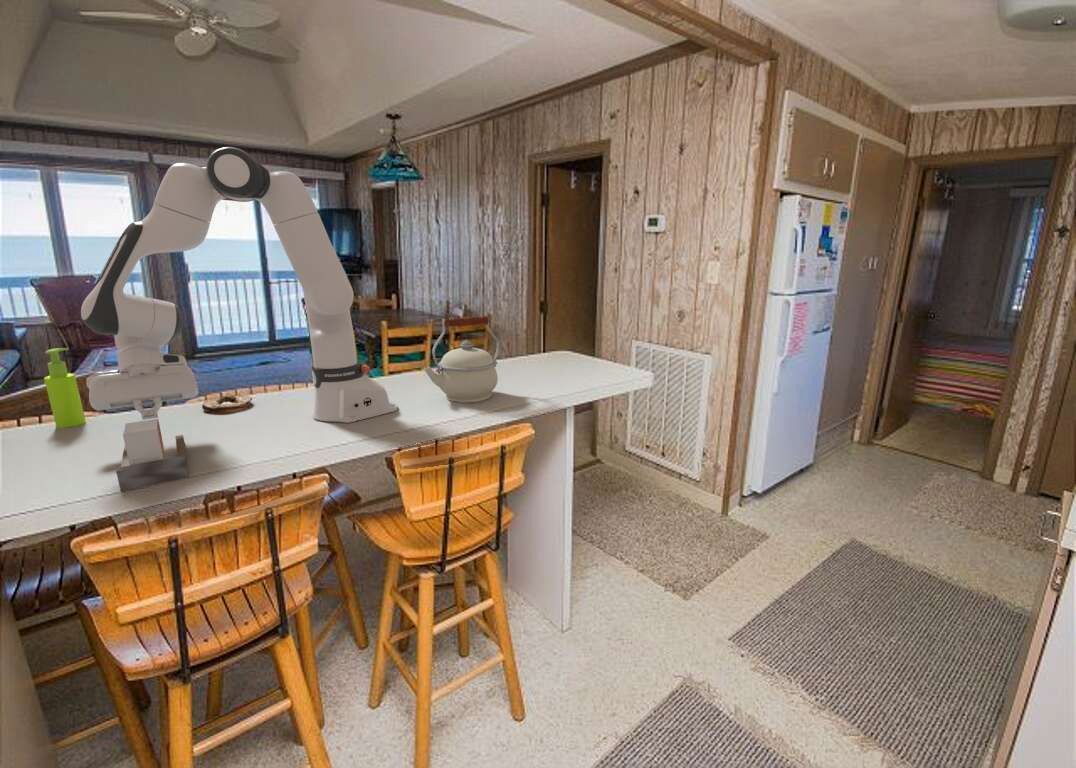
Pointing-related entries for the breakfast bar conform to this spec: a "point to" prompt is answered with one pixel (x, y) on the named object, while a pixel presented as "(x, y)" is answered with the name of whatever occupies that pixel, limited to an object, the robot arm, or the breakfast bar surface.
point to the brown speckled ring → (227, 404)
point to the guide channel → (153, 469)
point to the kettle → (465, 367)
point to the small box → (143, 442)
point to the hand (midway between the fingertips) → (150, 417)
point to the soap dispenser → (63, 393)
